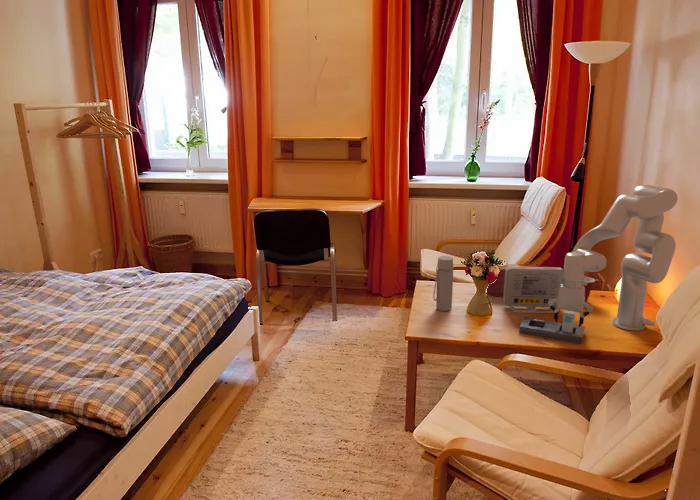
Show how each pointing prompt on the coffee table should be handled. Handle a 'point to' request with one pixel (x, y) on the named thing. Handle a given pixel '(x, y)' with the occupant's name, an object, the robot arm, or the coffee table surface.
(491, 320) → the coffee table surface
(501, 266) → the canister
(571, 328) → the plug
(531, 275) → the network device
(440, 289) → the water bottle
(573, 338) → the panel
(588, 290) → the plastic cup
